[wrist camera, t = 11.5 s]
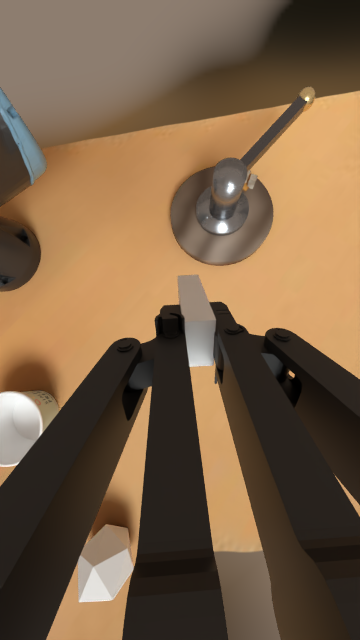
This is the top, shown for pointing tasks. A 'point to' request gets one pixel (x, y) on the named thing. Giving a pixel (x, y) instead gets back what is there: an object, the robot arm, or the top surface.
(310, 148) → the top surface
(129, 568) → the die
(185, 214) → the dial base
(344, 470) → the robot arm
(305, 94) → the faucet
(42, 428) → the food container
